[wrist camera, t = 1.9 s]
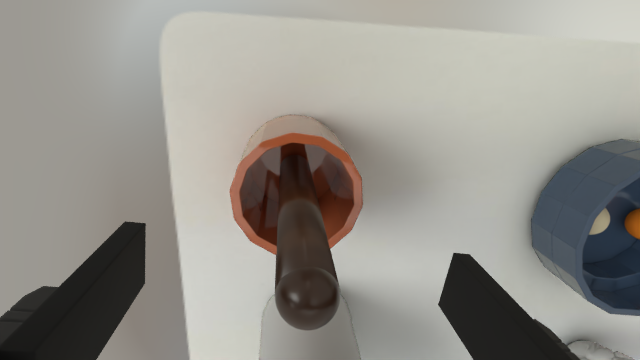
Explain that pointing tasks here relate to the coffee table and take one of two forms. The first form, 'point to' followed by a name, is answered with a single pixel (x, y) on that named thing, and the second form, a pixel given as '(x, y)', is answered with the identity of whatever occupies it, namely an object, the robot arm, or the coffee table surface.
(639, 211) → the ball
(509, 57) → the coffee table surface
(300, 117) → the holder
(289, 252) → the stick
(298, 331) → the mug
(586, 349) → the frog figurine
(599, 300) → the bowl
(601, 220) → the ball
